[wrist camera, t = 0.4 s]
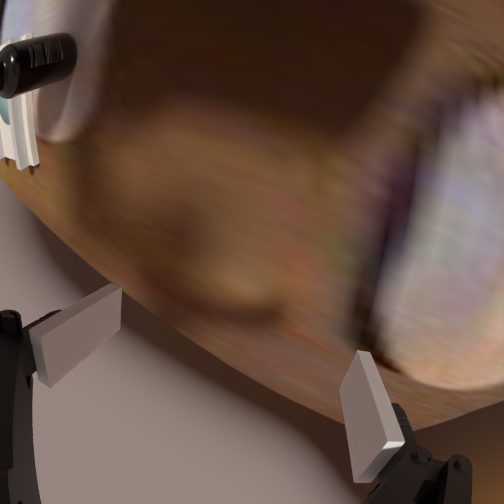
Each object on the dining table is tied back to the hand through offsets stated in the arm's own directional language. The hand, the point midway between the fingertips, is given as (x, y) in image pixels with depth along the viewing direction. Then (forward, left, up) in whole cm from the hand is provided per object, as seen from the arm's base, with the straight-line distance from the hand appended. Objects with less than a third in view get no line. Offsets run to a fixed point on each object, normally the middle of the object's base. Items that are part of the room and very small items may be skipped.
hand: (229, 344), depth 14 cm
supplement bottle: (-12, -32, -16) cm, 37 cm away
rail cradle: (-6, -49, -15) cm, 51 cm away
